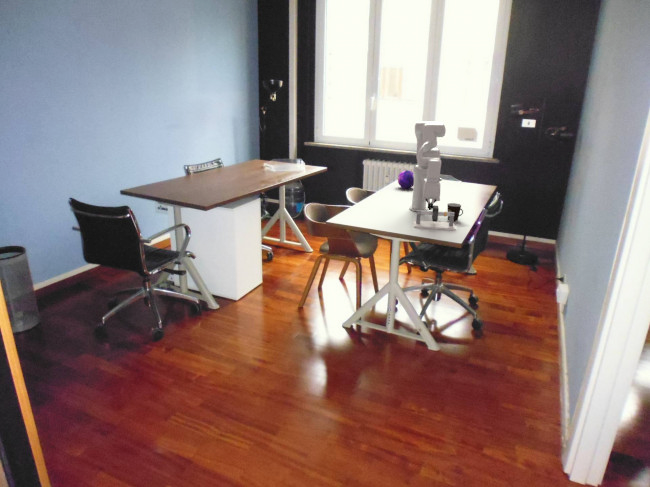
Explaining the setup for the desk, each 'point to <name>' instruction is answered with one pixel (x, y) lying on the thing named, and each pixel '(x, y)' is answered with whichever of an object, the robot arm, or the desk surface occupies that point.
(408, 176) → the decorative orb
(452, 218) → the rail fixture
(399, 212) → the desk surface
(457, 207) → the coffee mug
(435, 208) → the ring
